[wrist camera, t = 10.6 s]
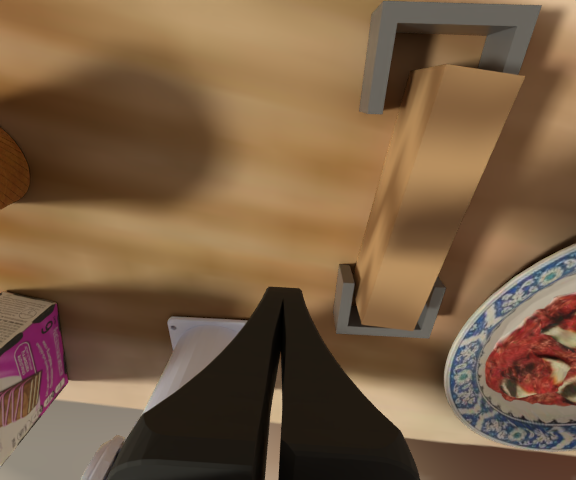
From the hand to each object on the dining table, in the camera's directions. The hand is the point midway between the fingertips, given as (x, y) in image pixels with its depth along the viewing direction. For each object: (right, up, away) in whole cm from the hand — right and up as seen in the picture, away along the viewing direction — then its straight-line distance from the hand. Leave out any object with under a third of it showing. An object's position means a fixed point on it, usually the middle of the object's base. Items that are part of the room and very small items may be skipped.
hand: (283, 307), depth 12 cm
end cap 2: (+8, +12, +5) cm, 16 cm away
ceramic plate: (+27, -6, +14) cm, 31 cm away
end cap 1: (+8, -1, +12) cm, 14 cm away
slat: (+8, +6, +9) cm, 13 cm away
